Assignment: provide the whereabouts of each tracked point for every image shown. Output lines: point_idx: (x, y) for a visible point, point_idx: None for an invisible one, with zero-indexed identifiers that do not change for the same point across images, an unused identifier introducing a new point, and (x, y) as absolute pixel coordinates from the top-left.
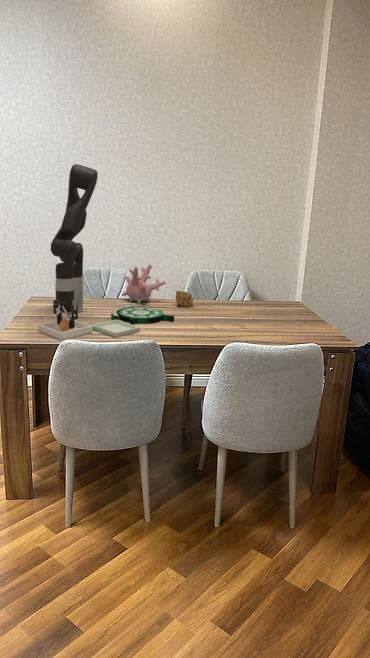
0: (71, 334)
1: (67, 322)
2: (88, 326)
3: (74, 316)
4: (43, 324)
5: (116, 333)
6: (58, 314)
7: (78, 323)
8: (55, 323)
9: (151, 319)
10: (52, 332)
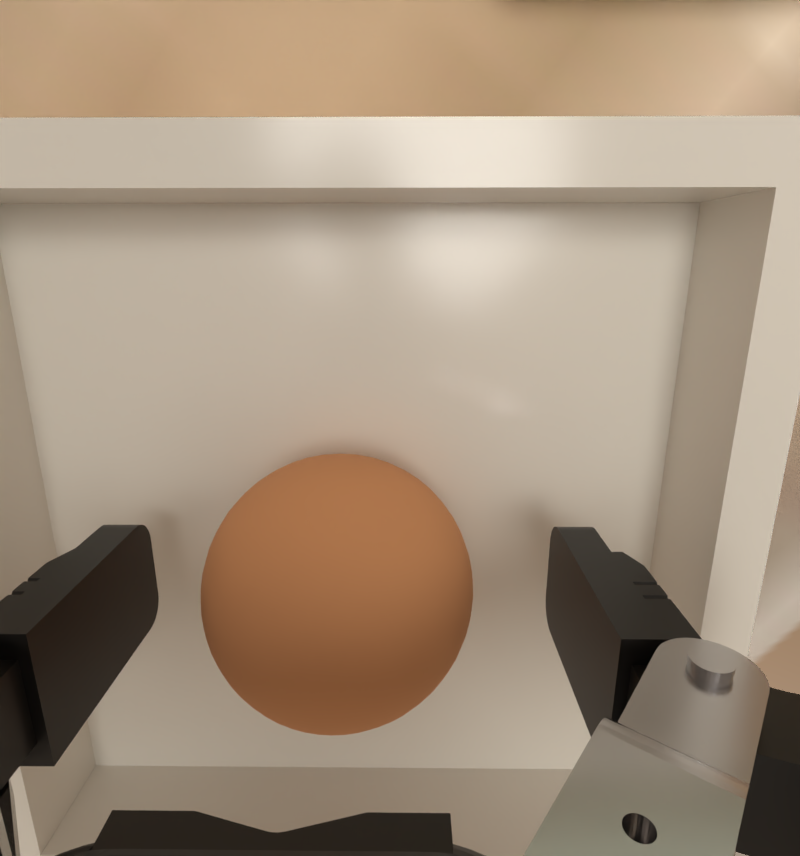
0: None
1: (444, 654)
2: (784, 227)
3: (757, 735)
4: (37, 821)
5: None
6: (14, 811)
7: (298, 191)
8: (3, 574)
9: None
10: None
